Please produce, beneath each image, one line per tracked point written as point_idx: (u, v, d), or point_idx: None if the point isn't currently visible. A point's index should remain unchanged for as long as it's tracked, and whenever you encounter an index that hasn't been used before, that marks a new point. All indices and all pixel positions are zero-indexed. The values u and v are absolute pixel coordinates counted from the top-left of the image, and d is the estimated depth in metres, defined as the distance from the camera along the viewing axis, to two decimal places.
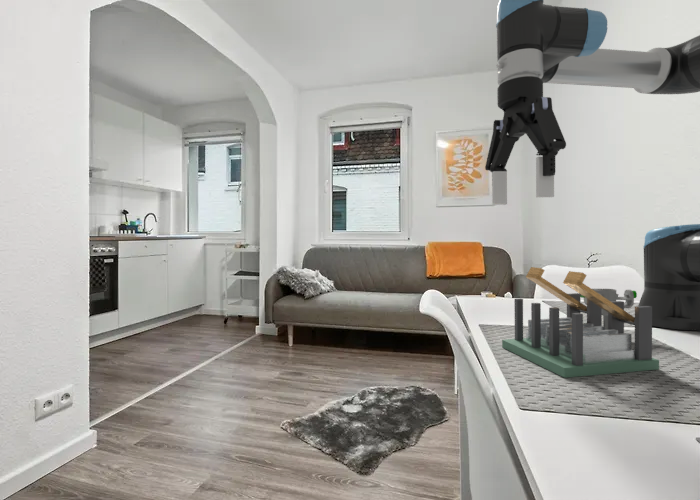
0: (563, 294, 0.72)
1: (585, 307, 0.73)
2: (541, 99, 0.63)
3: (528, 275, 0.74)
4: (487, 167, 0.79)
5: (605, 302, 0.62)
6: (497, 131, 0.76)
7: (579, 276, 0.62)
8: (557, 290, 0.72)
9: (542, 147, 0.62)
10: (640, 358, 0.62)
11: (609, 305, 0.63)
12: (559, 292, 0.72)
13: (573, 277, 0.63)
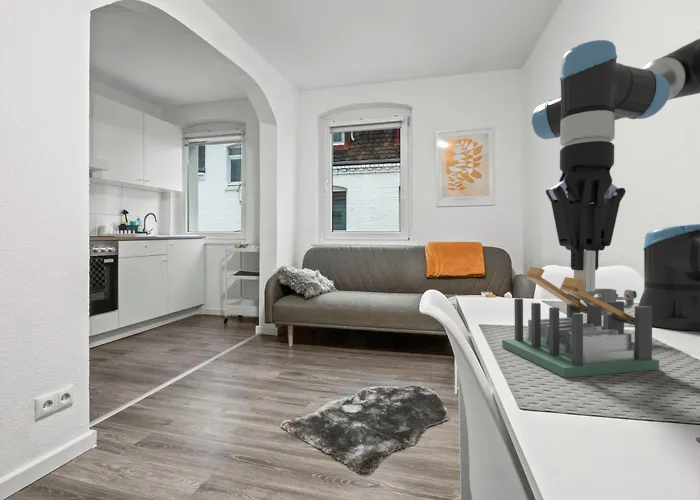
0: (563, 294, 0.72)
1: (585, 307, 0.73)
2: (548, 193, 0.63)
3: (528, 275, 0.74)
4: None
5: (603, 306, 0.62)
6: (604, 199, 0.65)
7: (575, 282, 0.62)
8: (557, 290, 0.72)
9: None
10: (640, 358, 0.62)
11: (608, 308, 0.63)
12: (559, 292, 0.72)
13: (569, 283, 0.63)
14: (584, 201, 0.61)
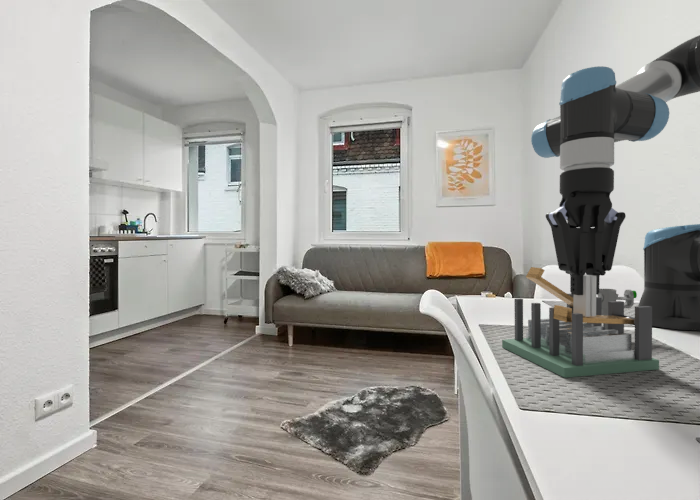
0: (563, 294, 0.72)
1: None
2: (548, 218, 0.63)
3: (528, 275, 0.74)
4: None
5: (600, 321, 0.62)
6: (604, 223, 0.65)
7: (566, 312, 0.62)
8: (557, 290, 0.72)
9: None
10: (640, 358, 0.62)
11: (605, 322, 0.63)
12: (559, 292, 0.72)
13: (561, 313, 0.63)
14: (584, 226, 0.61)
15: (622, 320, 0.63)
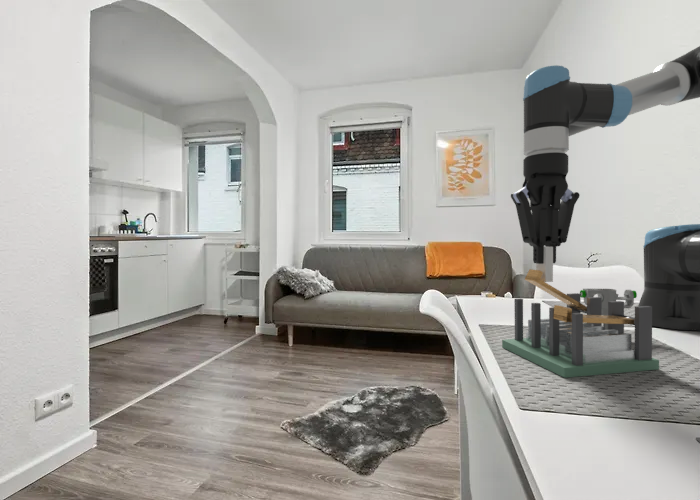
0: (562, 295, 0.72)
1: (585, 307, 0.73)
2: (513, 197, 0.72)
3: (527, 277, 0.74)
4: None
5: (600, 321, 0.62)
6: (561, 202, 0.75)
7: (566, 312, 0.62)
8: (556, 292, 0.72)
9: None
10: (640, 358, 0.62)
11: (605, 322, 0.63)
12: (558, 293, 0.72)
13: (561, 313, 0.63)
14: (543, 204, 0.71)
15: (622, 320, 0.63)
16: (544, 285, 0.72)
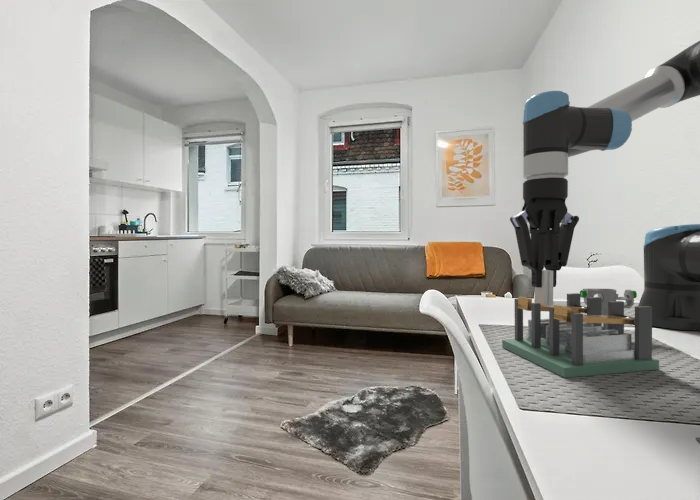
0: None
1: (584, 310, 0.73)
2: (512, 220, 0.73)
3: (519, 306, 0.74)
4: None
5: (600, 321, 0.62)
6: (561, 225, 0.75)
7: (566, 312, 0.62)
8: None
9: None
10: (640, 358, 0.62)
11: (605, 322, 0.63)
12: None
13: (561, 313, 0.63)
14: (542, 228, 0.71)
15: (622, 320, 0.63)
16: None
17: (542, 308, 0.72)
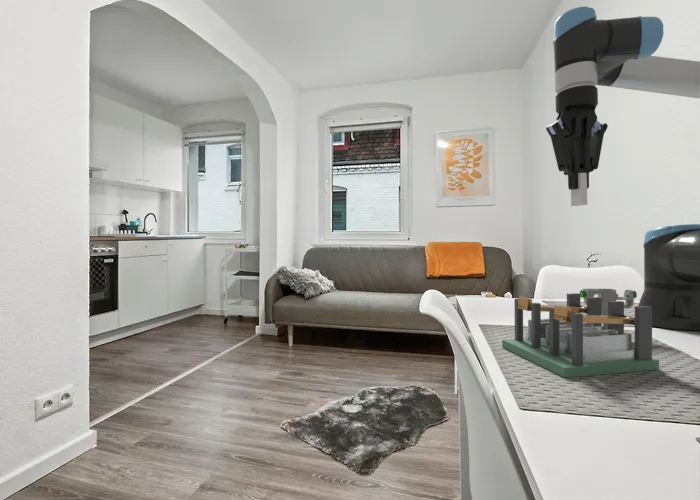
0: None
1: (584, 310, 0.73)
2: (548, 129, 0.80)
3: (519, 306, 0.74)
4: None
5: (600, 321, 0.62)
6: None
7: (566, 312, 0.62)
8: None
9: None
10: (640, 358, 0.62)
11: (605, 322, 0.63)
12: None
13: (561, 313, 0.63)
14: (576, 133, 0.78)
15: (622, 320, 0.63)
16: None
17: (542, 308, 0.72)
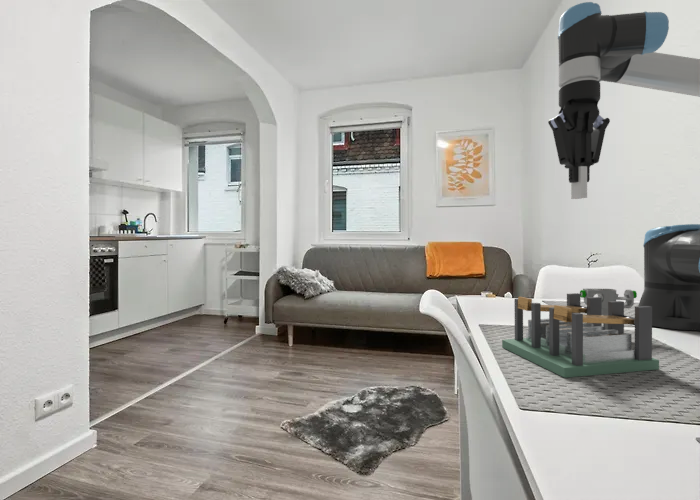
0: None
1: (584, 310, 0.73)
2: (550, 123, 0.81)
3: (519, 306, 0.74)
4: None
5: (600, 321, 0.62)
6: (593, 128, 0.83)
7: (566, 312, 0.62)
8: None
9: None
10: (640, 358, 0.62)
11: (605, 322, 0.63)
12: None
13: (561, 313, 0.63)
14: (578, 127, 0.80)
15: (622, 320, 0.63)
16: None
17: (542, 308, 0.72)
